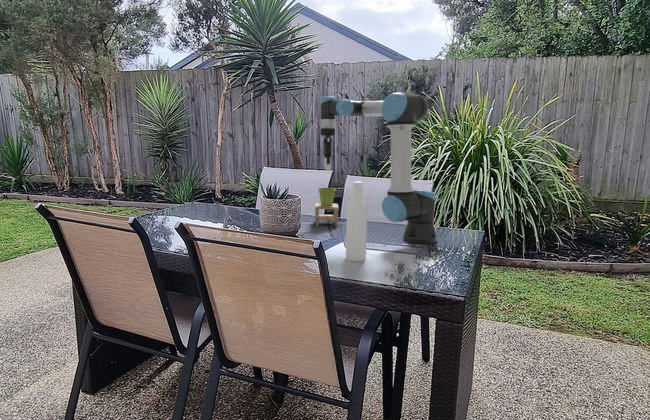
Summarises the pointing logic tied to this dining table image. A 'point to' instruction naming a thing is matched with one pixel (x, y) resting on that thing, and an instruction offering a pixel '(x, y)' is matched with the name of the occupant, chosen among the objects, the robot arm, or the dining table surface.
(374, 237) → the dining table surface
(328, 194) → the plant pot
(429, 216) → the robot arm
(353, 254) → the bottle
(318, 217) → the plant stand
